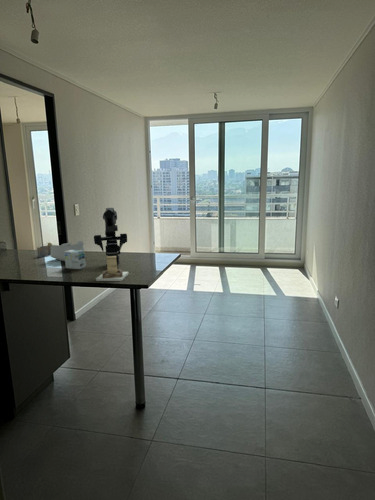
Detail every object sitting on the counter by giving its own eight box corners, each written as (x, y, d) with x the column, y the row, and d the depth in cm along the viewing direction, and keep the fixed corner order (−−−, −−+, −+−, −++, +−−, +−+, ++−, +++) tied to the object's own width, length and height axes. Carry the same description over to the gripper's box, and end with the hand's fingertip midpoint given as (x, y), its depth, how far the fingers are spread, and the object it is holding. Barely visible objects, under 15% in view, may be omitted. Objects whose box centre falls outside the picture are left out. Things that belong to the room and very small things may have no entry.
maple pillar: (108, 273, 183) (106, 256, 181) (117, 273, 184) (116, 255, 182) (108, 276, 178) (106, 258, 176) (117, 275, 179) (116, 257, 177)
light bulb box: (86, 266, 207) (84, 250, 205) (79, 269, 201) (78, 252, 198) (72, 265, 210) (70, 249, 208) (65, 268, 204) (63, 251, 202)
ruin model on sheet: (51, 254, 249) (49, 242, 248) (53, 255, 248) (52, 242, 246) (37, 257, 240) (36, 244, 238) (40, 258, 238) (38, 244, 236)
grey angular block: (64, 264, 216) (62, 246, 214) (50, 260, 228) (48, 243, 226) (90, 258, 231) (89, 242, 229) (75, 255, 243) (74, 239, 241)
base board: (96, 280, 175) (95, 278, 175) (105, 273, 189) (104, 271, 189) (121, 280, 174) (121, 278, 174) (128, 273, 187) (128, 271, 187)
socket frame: (102, 278, 175) (102, 275, 175) (103, 273, 185) (103, 270, 185) (122, 276, 177) (122, 274, 177) (122, 271, 187) (122, 269, 187)
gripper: (92, 221, 186) (92, 243, 178) (125, 219, 190) (127, 241, 181) (94, 233, 195) (95, 254, 187) (126, 231, 199) (128, 252, 191)
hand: (111, 250), depth 186 cm, fingers open, 9 cm apart
